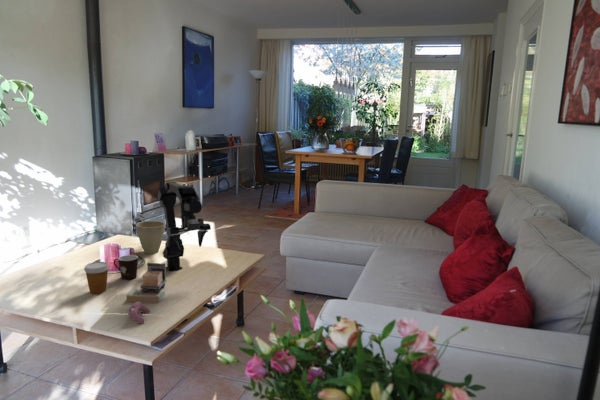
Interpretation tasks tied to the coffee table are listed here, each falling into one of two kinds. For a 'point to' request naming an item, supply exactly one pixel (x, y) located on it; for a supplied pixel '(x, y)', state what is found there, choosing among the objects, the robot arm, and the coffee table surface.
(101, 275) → the disposable coffee cup
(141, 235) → the plant pot
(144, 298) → the dock bay
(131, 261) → the coffee mug
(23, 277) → the coffee table surface
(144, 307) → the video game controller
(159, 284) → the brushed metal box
